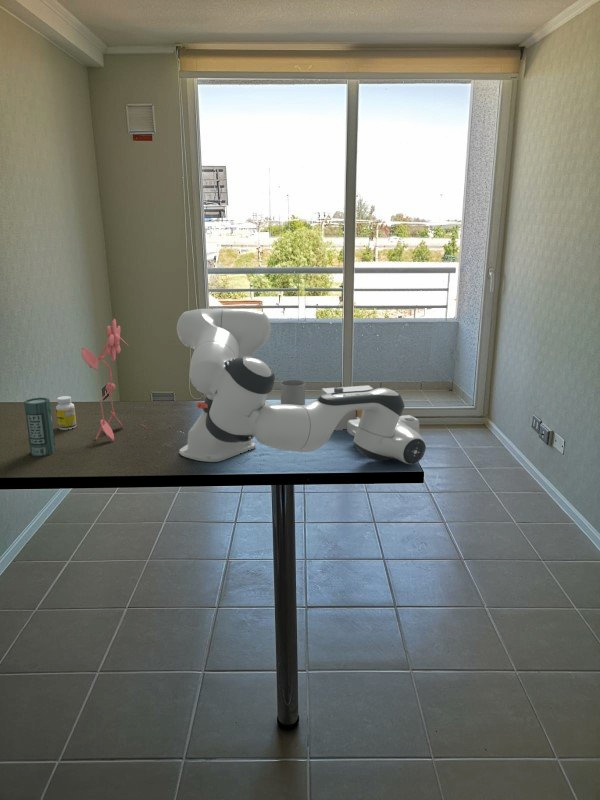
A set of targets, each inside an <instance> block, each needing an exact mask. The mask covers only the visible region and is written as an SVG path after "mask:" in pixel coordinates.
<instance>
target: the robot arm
mask: <svg viewBox="0 0 600 800" xmlns="http://www.w3.org/2000/svg"><path fill="white" fill-rule="evenodd" d="M176 333H177V336H178V338H179V341H180V342H181V343H182V344H183V345H184V346H185V347H188V348H191V349H193V353H192V355H191V359H190V363H189V364H190V365H189V378H190V379H189V380H190V383H191V385H192V386H193V387H194V389H195V390H197V391H198V392H199V393H202V394H204V395H206V396H205V398H204V402H203V401H198V402H197V403H196V407H197V409H199V410H200V409H201V410H202V413H201V414H200V415H199V417H198V418H197V420H196V421H195V422H194V424H193V425H192V426H191V428H190V429H189V430H188V433H187V444H186V445H183V447H181V448H180V449H179V451H178V453H179V454H180V456H183V457H184V458H188V459H191V460H194V461H199V462H207V463H218V462H221V461H224V460H225V461H226V460H227V459H229V458H232V457H233V458H234V456H237V455H241V454H243V453H246V452H248V450H249V451H252V450H253V449H256V448H255V447H256V443H255V442H254V441H253V439H254V438H255V440H256V441H257V442H258V443H260V444H261V445H264V446H266V447H269V448H273V449H277V450H282V451H290V452H299V453H301V452H303V453H306V452H313V451H317V450H318V449H321V448H322V447H323V446H324V445H326V444H327V442H328V441H329V440H330V438H331V436H332V434H333V433H334V432H335V431H334V429H335V428H336V426H337V425H338V423H339V422H340V420H341V419H342V418H343V416H344V415H345V414H346V413H348V412H349V411H352V410H362V409H363V412H362V415H361V417H356V419H355V420H349V421H348V422H347V430H346V431H347V433H348V434H349V435H351V436H353V437H354V438H353V440H352V441H353V445H354V447H355V448H356V449H357V451H358V452H359V453H360V454H362V455H363V456H364V457H366V458H368V459H371V460H374V461H379V462H382V461H383V462H384V461H388V460H389V461H390V460H392V459H395V460H398V461H399V462H402V463H404V464H407V465H415V464H417V463H419V462H420V461H421V460H422V459H423V458H424V456H425V452H426V450H427V445H426V441H425V440H424V438H423V437H422V436H421V435H420V421H419V419H418V418H416V417H415V416H413V415H409V414H406V415H402V414H403V412H404V410H405V403H404V400H403V398H402V396H401V394H400V393H399V392H397V391H395V390H393V389H391V388H386V387H375V388H373V389H370V390H364V391H349V392H336V393H328V394H323V395H322V394H321V395H320V396H318V398H317V399H316V400H314V401H311V402H309V403H307V404H306V403H305V405H293V404H281V403H280V404H278V403H277V404H272V403H269V402H267V398H268V396H269V394H270V393H271V392H272V390H273V387H274V384H275V380H276V375H275V373H274V370H273V369H272V367H271V366H270V365H269V364H268V363H266V362H265V361H263V360H262V359H260V358H258V357H256V356H254V355H255V353H256V352H257V351H258V350H260V349H261V348H262V347H264V346H265V345H266V343H268V341H269V339H270V335H271V333H272V325H271V322H270V319H269V317H268V316H267V314H266V313H265V312H264V311H261V310H260V311H259V310H255V309H251V308H250V309H249V308H197V309H196V308H195V309H192V310H187V311H183V313H181V315H180V316H179V318H178V320H177V324H176ZM251 449H252V450H251ZM240 453H241V454H240Z"/></svg>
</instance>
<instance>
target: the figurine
mask: <svg viewBox="0 0 600 800" xmlns="http://www.w3.org/2000/svg"><path fill="white" fill-rule="evenodd" d="M106 335H107V340H106V343H105V344H104V347H103V349H102V350H101V353H100V354H99V355H98V356H96V355H95V353H94V352H92V351H91V350H90V349H88V348H85V347H82V348H81V357H82V358H83V361H84V362H85V363H86V364H87V365H88V366H89V368H90V369H92V368H93V370H95V371H97V370H98V367H99V361H98V360H100V361H101V362H102V363H103V364H104V365H105V366H106V367H107V368H108V370H109V379H110V382H108V383H107V384H106V385H105V391H107V392H106V393H105V394H104V395H103V397H101V399H100V400H99V403H100V408H101V415H102V419H100V421H99V424H100V427H99V430H98V431H97V434H96V436H95V438H94V439H95V440H98V438H99V436H100V434H101V432H104V434H105V435H106V436H107V437H108V438H109V439H110V440H111V441H112V442H113V441H115V434H114V432H113V429H112V427H111V425H110V423H111V421H112V420H113V417H114V418H115V419H116V420H117V421H118V423H119V424H120V425H121V427H122V428H125V425H123V423H121V421H120V420H119V418H118V417H117V416H116V413H115V408H114V404H113V399H112V392H114V391H115V390H116V385H115V384H114V383H113V372H112V369H113V368H112V367H111V365H109V364H108V363H107V362H106V361H105V360H103V358H105V357H109V356H110V359H111V362H112V363H115V361H116V360H117V355H119V354H120V353H121V351H122V349H121V345H120V341H122V342H123V343H124V344H125V345H126V346H127V347H129V346H130V345H129V344H128V343H127V342H126V341H125V340H124V339H123V338H122V337H121V326H120V325H118V326H117V319H115V318H113V320H112V321H111V325H107V326H106ZM103 354H104V355H103ZM108 394H109V398H110V402H111V408H112V410H111V411H110V413H111V415H110V418H109V419H108V422H107V421H106V420H105V415H104V409H103V400H104V398H105V397H106V396H107V395H108ZM140 425H141V426H143V427H145V428H146V429H147V430H149V427H147V426H145V425H144V424H141V423H140ZM147 435H148V433H146V434H144V436H142V437H140V438H139V439H138V440H140V439H143V438H144V437H146V436H147ZM85 446H87V444H85ZM89 446H92V445H91V444H89Z"/></svg>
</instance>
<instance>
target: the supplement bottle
mask: <svg viewBox="0 0 600 800" xmlns="http://www.w3.org/2000/svg"><path fill="white" fill-rule="evenodd" d="M56 400H57V403H58V404H57V405H56V406H55V410H56V418H57V428H58V429H59V430H62V431H68V429H69V430H73V429H75V428H77V418H76V410H75V408H76V407H75V404H74V403H72V397H71V396H70V395H69V396H68V395H63V396H59V397H57V399H56ZM72 428H73V429H72Z"/></svg>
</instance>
